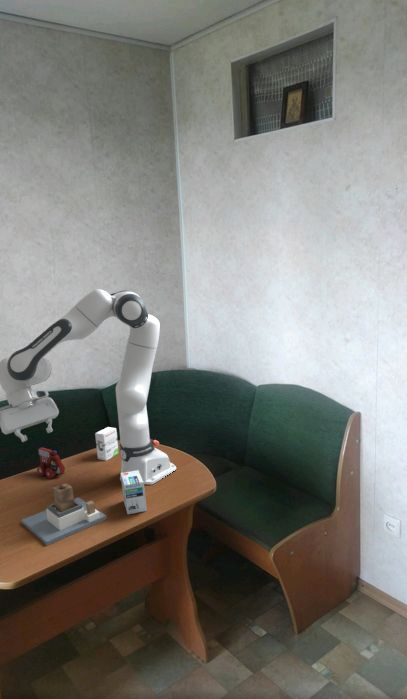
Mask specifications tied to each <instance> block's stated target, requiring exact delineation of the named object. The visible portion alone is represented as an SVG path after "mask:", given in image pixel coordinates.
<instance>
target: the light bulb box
mask: <svg viewBox="0 0 407 699" xmlns="http://www.w3.org/2000/svg"><path fill="white" fill-rule="evenodd" d="M120 475H121V481H122V482H121V481H120V482H121V489H122V498H123V504H124V506H125V511H126V514H127V515H132V514H137V513H142V512H147V510H148V509H147V501H146V489H145V484H144V481H143V479H142V477H141V475H140V472H139V470H137V471H131V472H124V473H121V472H120Z"/></svg>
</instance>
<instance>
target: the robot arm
mask: <svg viewBox="0 0 407 699" xmlns="http://www.w3.org/2000/svg"><path fill="white" fill-rule="evenodd" d="M147 310H148V309H147V307H146V303H145V301H144V299H142V297H141V296H139V294H138V293H136V292H133V291H131V290H121V291H117V292H114V293H108V292H107V291H106V290H104V289H100V288H95V289H93V290H92V291H90V292H89V293H87V294H86V295H84V297H83V298H81V299H80V300H79V301H78V302H77V303H75V305H74V306H73V307H72V308H71V309H70V310H69V311H67V313H66V314H64V315H63V316H62V317H61V318H59V319H58V320H57V321H55V322H54V323H52V324H51V325H49V326H48V328H46V329H45V330H44V331H43V332H41V334H39V335H38V336H37V337H36V338H35V339H34V340H33V341H31V342H30V343H29V344H28V345H27V346H25V347H23V348H21V349H18V350H16V351H14V352H13V353H12V354H11V355H10V356H8V357H5V358H4V359H2V360H1V361H0V386H1V388H2V390H3V391H4V392H5V393H4V394H5V396H6V401H7V402H8V405H5V406H2V407H0V429H1V433H3V434H4V435H9V434H12V433H14V435H15V436H16V437H18V438H19V439H20V440H21V442H22V443H25V442H27V441H28V436H27V435H26V434H23V433H21V430H23V429H26V428H30V427H32V426H36V425H38V424H39V425H40V424H41V423H44V422H45V423H46V424H47V427H46V428H45V430H46V432H47V434H50V433H52V432H53V431H54V429H53V428H52V424H53V419H56V418H57V417H58V415H59V413H60V411H59V410H60V409H59V408H58V407H57V406H58V405H57V404H56V403H55V401H54V399H53V398H52V397H50V396H49V395H50V394H49V392H48V390H35V389H32V386H35V385H38V384H41V383H43V382H45V381H47V380H48V379H49V378H50V376H51V374H52V364H51V363H50V361H49V360H48V359H47V358H45V357H46V356H47V355H48V354H49V353H50V352H51V351H52V350H54V349H55V348H57V346H58V345H60V344H61V343H64V342H66V341H74V340H76V341H77V340H84V339H86V338H87V337H89V336H90V335H92V333H94V332H95V331H96V330H97V329H98V328H99V327H100V326H101V324H102V323H103V322H104V321H106V320H107V319H109V318H111V317H115V318H117V320H119V321H120V322H121V323H123V324H125V325H127V326H129V335H128V340H127V344H126V346H125V353H124V356H123V361H122V367H121V373H120V379H119V380H118V381H117V383H116V385H115V397H116V398H115V399H116V408H117V418H118V428H119V437H120V438H119V440H120V443H119V451H120V453H119V454H120V457H121V467H120V468H121V470H120V477H119V481H120V482H121V483H122V481H121V473H124V472H131V471H137V470H139V472H140V475H141V477H142V479H143V481H144V485H154V484H155V483H157V482H159V481H161V480H162V478H163V479H164V478H166V477H168V476H169V474H170V473H171V474H173V473H174V472H173V471H175V470H176V469H177V466H176V465H175V464H174V463H173V462H171V461H170V458H169V456H168V454H167V453H166V452H163V451H162V450H160V449H158V448H156V447H158V446H159V445H160V441H158V440H156V439H154V440H153V438H152V439H151V437H150V427H149V417H148V410H147V402H148V396H149V392H150V391H149V390H150V386H151V378H152V372H153V368H154V363H155V357H156V354H157V349H158V344H159V339H160V331H161V328H160V327H161V326H160V325H161V324H160V321H159V320H158V318H156V316H154V315H152V314H149V313H148V311H147ZM176 471H177V470H176ZM176 471H175V472H176ZM172 472H173V473H172ZM171 474H170V475H171ZM167 475H168V476H167ZM165 476H166V477H165Z"/></svg>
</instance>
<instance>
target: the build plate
mask: <svg viewBox="0 0 407 699" xmlns="http://www.w3.org/2000/svg"><path fill="white" fill-rule="evenodd" d="M74 505H75V507H73V508H70V509H68V510H65V511H63V512H59V511H58V510H56V507H55V502H54V503H51V504H48V505H47V508H46V509H45V510H43V511H40V512H38V513H35V514H32V515H31V516H28V517H27V516H26V517H25V518H23V519H20V521H21V524H22V525H23V526H24V527H26V529H28V530H29V531H30V532H31V533H32V534H34V535H35V536H36V537H37V538H38V539H39V540H40V541H41V542H42V543H43V544H45V545H46V546H49V545H52V544H54V543H56V542H58V541H60V540H63V539H65V538H68V537H70V536H72V535H75V534H76V533H78V532H81V531H83V530H86V529H87V528H90V527H92V526H94V525H97V524H98V523H101V522H104V521H105V520H107V515H105V513H103V512H101V511H99V509H97V508H96V507H95V506H96V505H95V502H94V501H93V500H89V501H87V502H86V501H84V500H83V498H80V497H75V498H74Z"/></svg>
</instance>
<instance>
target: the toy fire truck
mask: <svg viewBox="0 0 407 699" xmlns="http://www.w3.org/2000/svg"><path fill="white" fill-rule="evenodd" d="M37 451H38V455H39V462H40V465H38V466H37V469H36V470H37V471H36V472H37V474H38V475H39V476H41V477H43V476H46V478H47V479H53V478H55V475H56V474H57V475H62V474H63V473H65V470H66V467H65V465H64V464H63V463H62V460H61V458H60V456H59V455H58V453H57V450H52V449H49V448H45V447H40V448H38V450H37Z"/></svg>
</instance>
